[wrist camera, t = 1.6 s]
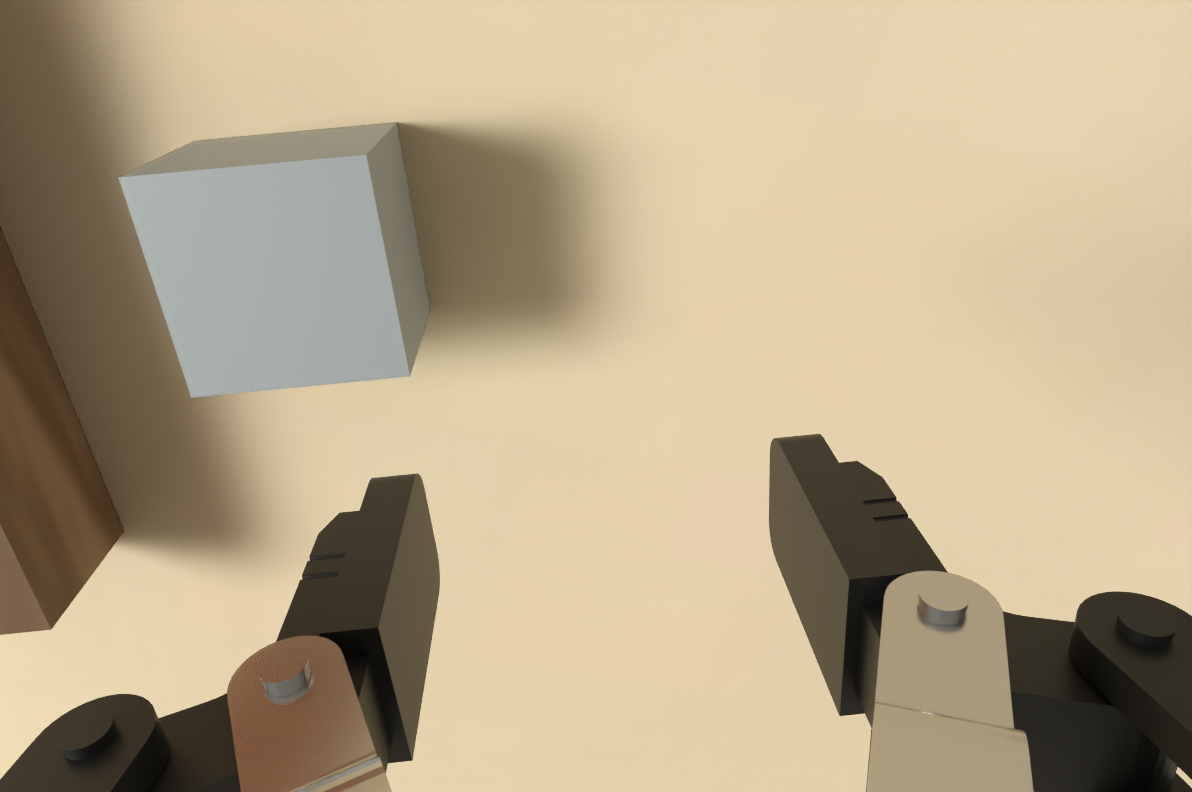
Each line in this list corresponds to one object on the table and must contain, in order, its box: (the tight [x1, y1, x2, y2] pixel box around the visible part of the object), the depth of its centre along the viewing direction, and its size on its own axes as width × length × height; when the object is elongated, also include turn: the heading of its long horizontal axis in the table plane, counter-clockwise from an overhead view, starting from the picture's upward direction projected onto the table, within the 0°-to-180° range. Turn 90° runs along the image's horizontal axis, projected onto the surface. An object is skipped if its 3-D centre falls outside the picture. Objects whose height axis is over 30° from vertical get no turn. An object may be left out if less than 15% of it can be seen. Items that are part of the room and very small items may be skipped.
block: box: [118, 122, 430, 398], centre depth 28 cm, size 7×7×6 cm
